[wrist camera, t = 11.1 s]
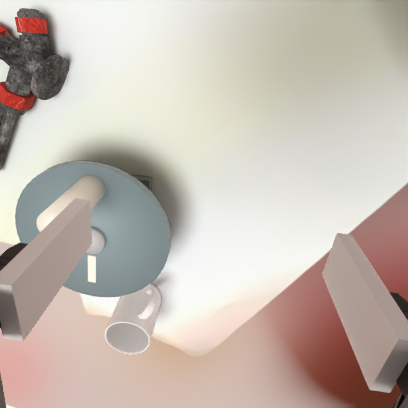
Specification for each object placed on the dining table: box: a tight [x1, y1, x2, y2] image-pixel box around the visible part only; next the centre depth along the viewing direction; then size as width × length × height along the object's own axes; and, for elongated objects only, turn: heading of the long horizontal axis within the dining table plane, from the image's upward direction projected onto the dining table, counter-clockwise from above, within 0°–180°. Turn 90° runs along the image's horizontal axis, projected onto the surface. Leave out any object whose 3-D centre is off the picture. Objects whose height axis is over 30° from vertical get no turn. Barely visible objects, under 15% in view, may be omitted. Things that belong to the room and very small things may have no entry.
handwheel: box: [15, 161, 171, 297], centre depth 41 cm, size 22×22×12 cm
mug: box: [105, 283, 161, 354], centre depth 57 cm, size 12×8×10 cm, turn 145°
